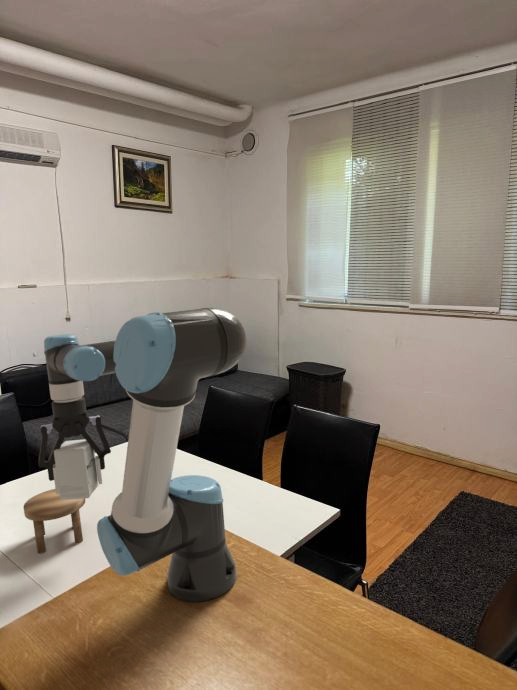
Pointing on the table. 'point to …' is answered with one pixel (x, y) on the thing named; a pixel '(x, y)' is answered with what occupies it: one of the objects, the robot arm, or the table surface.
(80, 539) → the stool
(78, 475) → the supplement box
